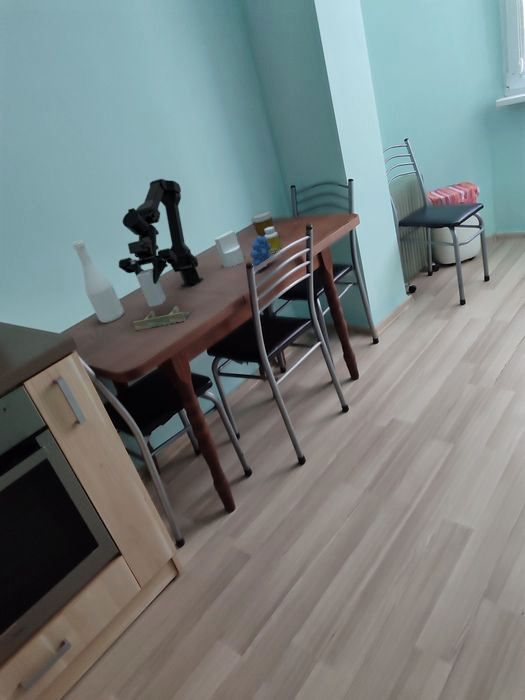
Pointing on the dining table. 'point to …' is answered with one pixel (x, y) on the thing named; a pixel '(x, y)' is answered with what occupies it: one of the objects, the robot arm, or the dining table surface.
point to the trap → (161, 319)
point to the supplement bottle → (272, 239)
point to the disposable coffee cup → (262, 222)
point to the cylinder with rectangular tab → (229, 249)
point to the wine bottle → (98, 288)
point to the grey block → (151, 288)
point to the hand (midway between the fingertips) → (148, 284)
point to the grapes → (260, 250)
